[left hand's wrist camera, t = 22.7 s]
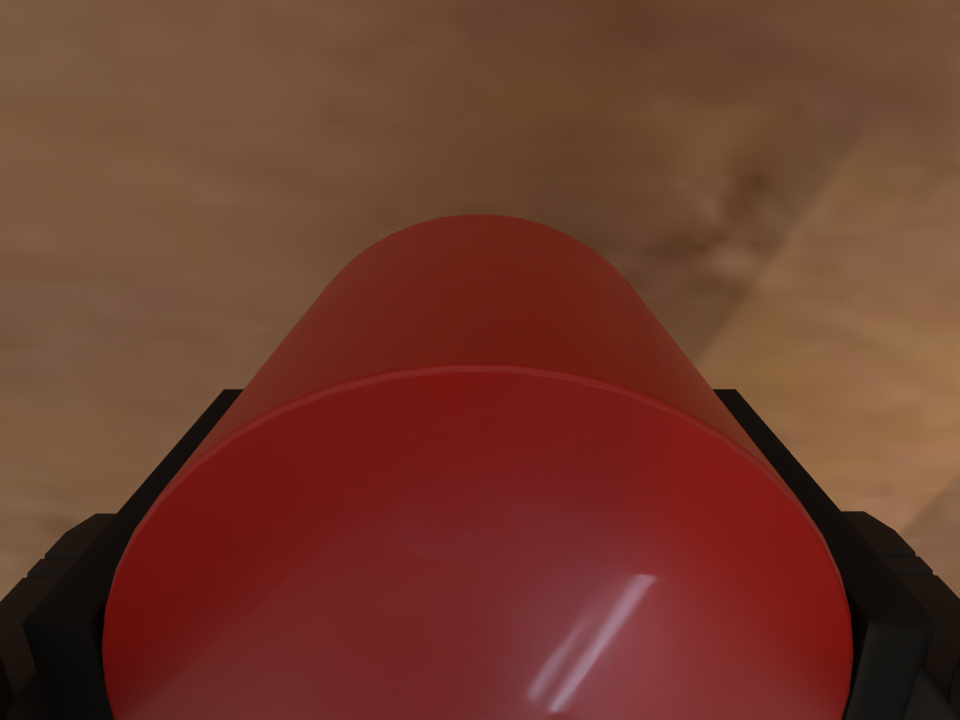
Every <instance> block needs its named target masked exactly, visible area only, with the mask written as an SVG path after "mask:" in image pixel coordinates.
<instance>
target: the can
mask: <svg viewBox="0 0 960 720" xmlns="http://www.w3.org/2000/svg"><path fill="white" fill-rule="evenodd" d="M853 657H854V653H853V639H852V625H851V613H850V609H849V605H848V601H847V597H846V593H845V589H844V585H843V582H842V578H841V574H840V572H839V569H838V567H837V565H836V563H835V561H834V558H833V556H832V554H831V552H830V550H829V547H828V545H827V543H826V541H825V539H824V536H823V535H822V533H821V532H820V530H819V529H818V527H817V526H816V524H815V523H814V521H813V520H812V519H811V517H810V516H809V514H808V513H807V511H806V510H805V508H804V507H803V505H802V504H801V502H800V501H799V499H798V498H797V497H796V495H795V494H794V493H793V492H792V490H791V489H790V488H789V487H788V485H787V484H786V483H785V481H784V480H783V479H782V478H781V476H780V475H779V474H778V473H777V471H776V470H775V469H774V467H773V466H772V465H771V464H770V462H769V461H768V460H767V459H766V457H765V456H764V455H763V453H762V452H761V451H760V450H759V448H758V447H757V446H756V444H755V443H754V442H753V441H752V439H751V438H750V437H749V436H748V434H747V433H746V432H745V430H744V429H743V428H742V427H741V425H740V424H739V423H738V422H737V420H736V419H735V418H734V416H733V415H732V414H731V413H730V411H729V410H728V409H727V407H726V406H725V405H724V404H723V402H722V401H721V400H720V399H719V397H718V396H717V395H716V393H715V392H714V391H713V390H712V388H711V387H710V386H709V385H708V383H707V382H706V381H705V379H704V378H703V377H702V376H701V374H700V373H699V372H698V370H697V369H696V368H695V367H694V365H693V364H692V363H691V362H690V360H689V359H688V358H687V356H686V355H685V354H684V353H683V351H682V350H681V349H680V348H679V346H678V345H677V344H676V342H675V341H674V340H673V339H672V337H671V336H670V335H669V333H668V332H667V331H666V330H665V328H664V327H663V326H662V325H661V323H660V322H659V321H658V319H657V318H656V317H655V316H654V314H653V313H652V312H651V311H650V309H649V308H648V307H647V305H646V304H645V303H644V302H643V300H642V299H641V298H640V296H639V295H638V294H637V293H636V291H635V290H634V289H633V288H632V286H631V285H630V284H629V283H628V282H627V280H626V279H625V278H624V277H623V276H622V275H621V274H620V273H619V272H618V271H617V270H616V269H615V268H614V267H613V265H611V264H610V263H609V262H608V261H606V260H605V259H604V258H603V257H601V256H600V255H599V254H598V253H597V252H595V251H594V250H593V249H591V248H590V247H588V246H586V245H585V244H583V243H581V242H580V241H578V240H576V239H575V238H573V237H571V236H569V235H567V234H565V233H562V232H560V231H558V230H555V229H553V228H551V227H548V226H546V225H542V224H539V223H535V222H532V221H528V220H524V219H521V218H514V217H507V216H500V215H460V216H452V217H444V218H438V219H434V220H431V221H427V222H423V223H419V224H415V225H413V226H410V227H408V228H406V229H403V230H401V231H398V232H396V233H393V234H391V235H389V236H387V237H386V238H384V239H382V240H381V241H379V242H377V243H375V244H374V245H372V246H370V247H369V248H367V249H366V250H365V251H363V252H362V253H361V254H360V255H358V256H357V257H356V258H354V259H353V260H352V261H351V262H349V263H348V264H347V265H346V266H345V267H344V268H343V269H342V270H341V271H340V272H339V274H338V275H337V276H336V277H335V278H334V279H333V280H332V281H331V282H330V283H329V284H328V286H327V287H326V288H325V289H324V291H323V292H322V293H321V294H320V296H319V297H318V298H317V299H316V301H315V302H314V303H313V304H312V306H311V307H310V308H309V309H308V311H307V312H306V313H305V314H304V316H303V317H302V318H301V319H300V320H299V322H298V323H297V324H296V325H295V327H294V328H293V329H292V330H291V332H290V333H289V334H288V335H287V337H286V338H285V339H284V340H283V342H282V343H281V344H280V345H279V347H278V348H277V349H276V350H275V352H274V353H273V354H272V355H271V357H270V358H269V359H268V360H267V362H266V363H265V364H264V365H263V367H262V368H261V369H260V370H259V371H258V373H257V374H256V375H255V376H254V378H253V379H252V380H251V381H250V383H249V384H248V385H247V386H246V388H245V389H244V390H243V391H242V393H241V394H240V395H239V396H238V398H237V399H236V400H235V401H234V403H233V404H232V405H231V406H230V408H229V409H228V410H227V411H226V413H225V414H224V415H223V416H222V417H221V419H220V420H219V421H218V422H217V424H216V425H215V426H214V427H213V429H212V430H211V431H210V432H209V434H208V435H207V436H206V437H205V439H204V440H203V441H202V442H201V444H200V445H199V446H198V447H197V449H196V450H195V451H194V452H193V454H192V455H191V456H190V457H189V459H188V460H187V461H186V462H185V464H184V465H183V466H182V467H181V468H180V470H179V471H178V472H177V473H176V475H175V476H174V477H173V478H172V480H171V481H170V482H169V483H168V485H167V486H166V487H165V488H164V490H163V491H162V492H161V493H160V495H159V496H158V498H157V499H156V500H155V502H154V503H153V505H152V506H151V507H150V509H149V510H148V512H147V513H146V515H145V516H144V517H143V519H142V520H141V522H140V523H139V524H138V526H137V527H136V529H135V530H134V532H133V534H132V536H131V538H130V541H129V543H128V545H127V547H126V549H125V551H124V553H123V555H122V557H121V559H120V562H119V564H118V566H117V568H116V571H115V575H114V578H113V582H112V586H111V589H110V593H109V596H108V600H107V604H106V608H105V617H104V629H103V640H102V660H103V671H104V683H105V689H106V693H107V697H108V701H109V705H110V708H111V712H112V716H113V720H842V718H843V715H844V711H845V707H846V704H847V700H848V697H849V693H850V685H851V676H852V666H853Z"/></svg>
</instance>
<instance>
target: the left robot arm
mask: <svg viewBox="0 0 960 720" xmlns="http://www.w3.org/2000/svg"><path fill="white" fill-rule="evenodd" d="M243 390H244V389H224V390H223V391H222V392H221V394H220V395H219V396H218V397H217V398H216V399H215V400H214V402H213V403H212V404H211V405H210V406H209V407H208V409H207V410H206V411H205V412H204V413H203V414H202V416H201V417H200V418H199V419H198V420H197V421H196V423H195V424H194V425H193V426H192V427H191V428H190V429H189V431H188V432H187V433H186V434H185V435H184V436H183V438H182V439H181V440H180V441H179V442H178V443H177V445H176V446H175V447H174V448H173V449H172V450H171V451H170V453H169V454H168V455H167V456H166V457H165V458H164V460H163V461H162V462H161V463H160V464H159V465H158V467H157V468H156V469H155V470H154V471H153V472H152V473H151V475H150V476H149V477H148V478H147V479H146V480H145V482H144V483H143V484H142V485H141V486H140V487H139V489H138V490H137V491H136V492H135V493H134V494H133V495H132V497H131V498H130V499H129V500H128V501H127V502H126V504H125V505H124V506H123V507H122V508H121V509H120V511H119V512H118V513H117V514H95V515H93V516H91V517H90V518H88V519H87V520H85V521H83V522H82V523H80V524H79V525H77V526H75V527H74V528H72V529H71V530H69V531H67V532H66V533H65V534H64V535H63V536H62V537H61V538H60V539H59V540H58V541H57V542H56V543H55V544H54V545H53V547H52V548H51V549H50V550H49V551H48V552H47V553H46V554H45V558H44V559H40V560H39V561H38V562H37V564H36V565H35V566H34V567H33V568H32V569H31V570H30V571H29V572H28V573H27V574H28V575H27V578H22V579H21V580H20V582H19V583H18V584H17V585H16V586H15V587H14V588H13V589H12V590H11V591H10V592H9V593H8V594H7V595H6V596H5V597H4V599H3V600H2V601H1V602H0V720H113V716H112V712H111V708H110V705H109V701H108V697H107V693H106V689H105V683H104V671H103V660H102V640H103V629H104V617H105V608H106V604H107V600H108V596H109V593H110V589H111V586H112V582H113V578H114V575H115V571H116V568H117V566H118V564H119V562H120V559H121V557H122V555H123V553H124V551H125V549H126V547H127V545H128V543H129V541H130V538H131V536H132V534H133V532H134V530H135V529H136V527H137V526H138V524H139V523H140V522H141V520H142V519H143V517H144V516H145V515H146V513H147V512H148V510H149V509H150V507H151V506H152V505H153V503H154V502H155V500H156V499H157V498H158V496H159V495H160V493H161V492H162V491H163V490H164V488H165V487H166V486H167V485H168V483H169V482H170V481H171V480H172V478H173V477H174V476H175V475H176V473H177V472H178V471H179V470H180V468H181V467H182V466H183V465H184V464H185V462H186V461H187V460H188V459H189V457H190V456H191V455H192V454H193V452H194V451H195V450H196V449H197V447H198V446H199V445H200V444H201V442H202V441H203V440H204V439H205V437H206V436H207V435H208V434H209V432H210V431H211V430H212V429H213V427H214V426H215V425H216V424H217V422H218V421H219V420H220V419H221V417H222V416H223V415H224V414H225V413H226V411H227V410H228V409H229V408H230V406H231V405H232V404H233V403H234V401H235V400H236V399H237V398H238V396H239V395H240V394H241V393H242V391H243ZM712 390H713V391H714V392H715V393H716V395H717V396H718V397H719V399H720V400H721V401H722V402H723V404H724V405H725V406H726V407H727V409H728V410H729V411H730V413H731V414H732V415H733V416H734V418H735V419H736V420H737V422H738V423H739V424H740V425H741V427H742V428H743V429H744V430H745V432H746V433H747V434H748V436H749V437H750V438H751V439H752V441H753V442H754V443H755V444H756V446H757V447H758V448H759V450H760V451H761V452H762V453H763V455H764V456H765V457H766V459H767V460H768V461H769V462H770V464H771V465H772V466H773V467H774V469H775V470H776V471H777V473H778V474H779V475H780V476H781V478H782V479H783V480H784V481H785V483H786V484H787V485H788V487H789V488H790V489H791V490H792V492H793V493H794V494H795V495H796V497H797V498H798V499H799V501H800V502H801V504H802V505H803V507H804V508H805V510H806V511H807V513H808V514H809V516H810V517H811V519H812V520H813V521H814V523H815V524H816V526H817V527H818V529H819V530H820V532H821V533H822V535H823V536H824V539H825V541H826V543H827V545H828V547H829V550H830V552H831V554H832V556H833V558H834V561H835V563H836V565H837V567H838V569H839V572H840V574H841V578H842V582H843V585H844V589H845V593H846V597H847V601H848V605H849V609H850V613H851V625H852V639H853V653H854V657H853V666H852V676H851V685H850V693H849V697H848V700H847V704H846V707H845V711H844V715H843V718H842V720H960V599H959V598H958V597H957V596H956V595H955V594H954V593H953V591H952V590H951V589H950V588H949V587H948V586H947V585H946V584H945V583H944V582H943V581H942V580H941V579H940V578H939V577H938V576H937V575H933V570H932V569H931V568H930V567H929V566H928V565H927V564H926V563H925V562H924V561H923V560H922V559H921V558H920V557H916V555H915V551H914V550H913V549H912V548H911V547H910V546H909V545H908V544H907V543H906V542H905V541H904V540H903V539H902V538H901V537H900V536H899V535H898V533H897V532H896V531H895V530H893V529H892V528H890V527H888V526H887V525H885V524H884V523H882V522H880V521H879V520H877V519H876V518H874V517H872V516H871V515H869V514H867V513H866V512H864V511H840V510H839V509H838V507H837V506H836V505H835V504H834V503H833V502H832V500H831V499H830V498H829V497H828V496H827V495H826V494H825V492H824V491H823V490H822V489H821V488H820V487H819V485H818V484H817V483H816V482H815V481H814V480H813V478H812V477H811V476H810V475H809V474H808V473H807V472H806V470H805V469H804V468H803V467H802V466H801V465H800V463H799V462H798V461H797V460H796V459H795V458H794V456H793V455H792V454H791V453H790V452H789V451H788V449H787V448H786V447H785V446H784V445H783V444H782V443H781V441H780V440H779V439H778V438H777V437H776V436H775V434H774V433H773V432H772V431H771V430H770V429H769V427H768V426H767V425H766V424H765V423H764V422H763V421H762V419H761V418H760V417H759V416H758V415H757V414H756V412H755V411H754V410H753V409H752V408H751V407H750V405H749V404H748V403H747V402H746V401H745V400H744V398H743V397H742V396H741V395H740V394H739V393H738V392H737V390H736V389H712Z"/></svg>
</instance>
